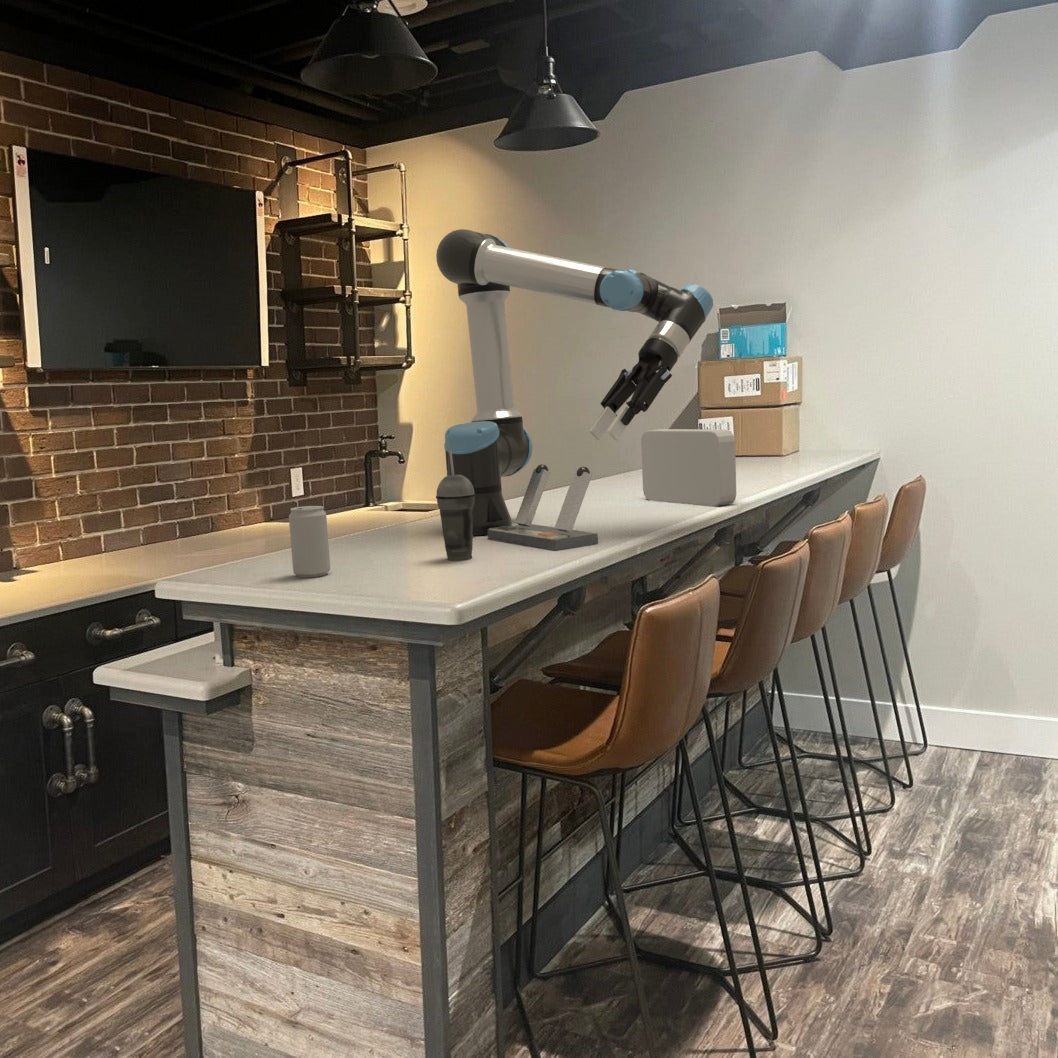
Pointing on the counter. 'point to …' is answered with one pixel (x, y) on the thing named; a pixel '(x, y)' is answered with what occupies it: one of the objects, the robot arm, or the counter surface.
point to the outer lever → (573, 500)
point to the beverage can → (309, 541)
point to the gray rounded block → (689, 466)
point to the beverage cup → (456, 514)
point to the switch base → (542, 537)
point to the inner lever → (532, 496)
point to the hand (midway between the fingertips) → (603, 435)
